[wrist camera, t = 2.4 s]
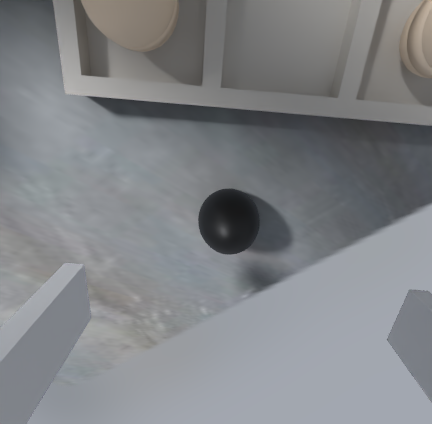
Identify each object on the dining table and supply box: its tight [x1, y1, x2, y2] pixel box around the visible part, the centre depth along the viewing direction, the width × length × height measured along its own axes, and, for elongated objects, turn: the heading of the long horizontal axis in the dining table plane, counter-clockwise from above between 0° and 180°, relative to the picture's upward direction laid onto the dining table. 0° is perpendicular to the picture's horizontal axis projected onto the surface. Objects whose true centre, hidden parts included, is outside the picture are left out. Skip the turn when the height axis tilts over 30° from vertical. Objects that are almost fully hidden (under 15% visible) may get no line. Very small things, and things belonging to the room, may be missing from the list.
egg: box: [198, 189, 259, 254], centre depth 17 cm, size 4×4×5 cm
